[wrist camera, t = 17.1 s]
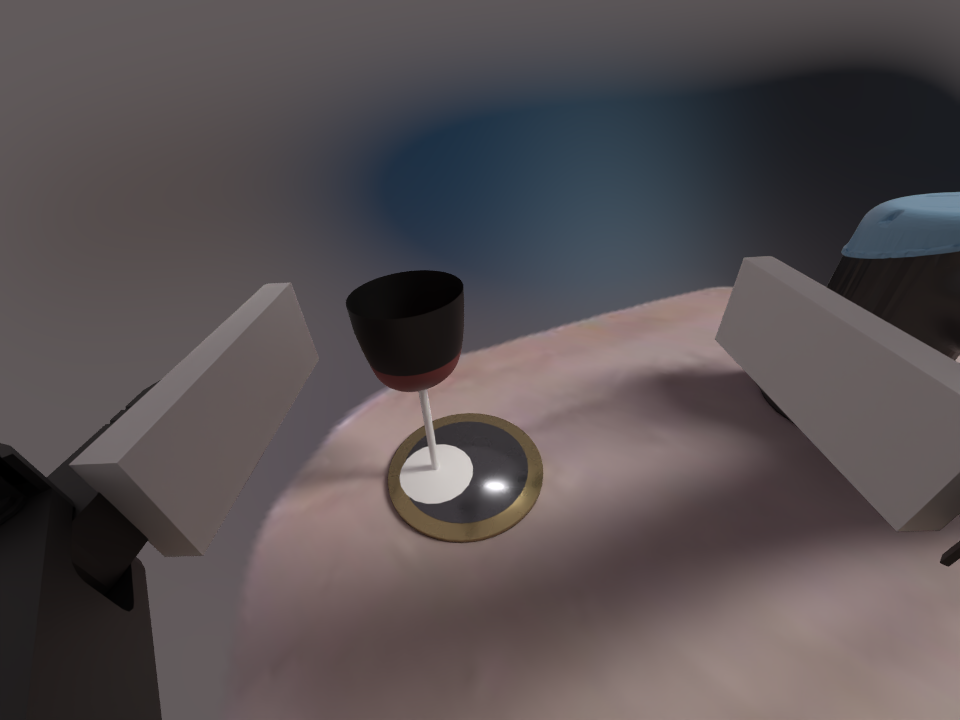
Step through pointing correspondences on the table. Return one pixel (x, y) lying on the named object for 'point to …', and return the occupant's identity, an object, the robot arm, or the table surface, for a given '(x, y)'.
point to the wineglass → (416, 362)
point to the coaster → (474, 479)
